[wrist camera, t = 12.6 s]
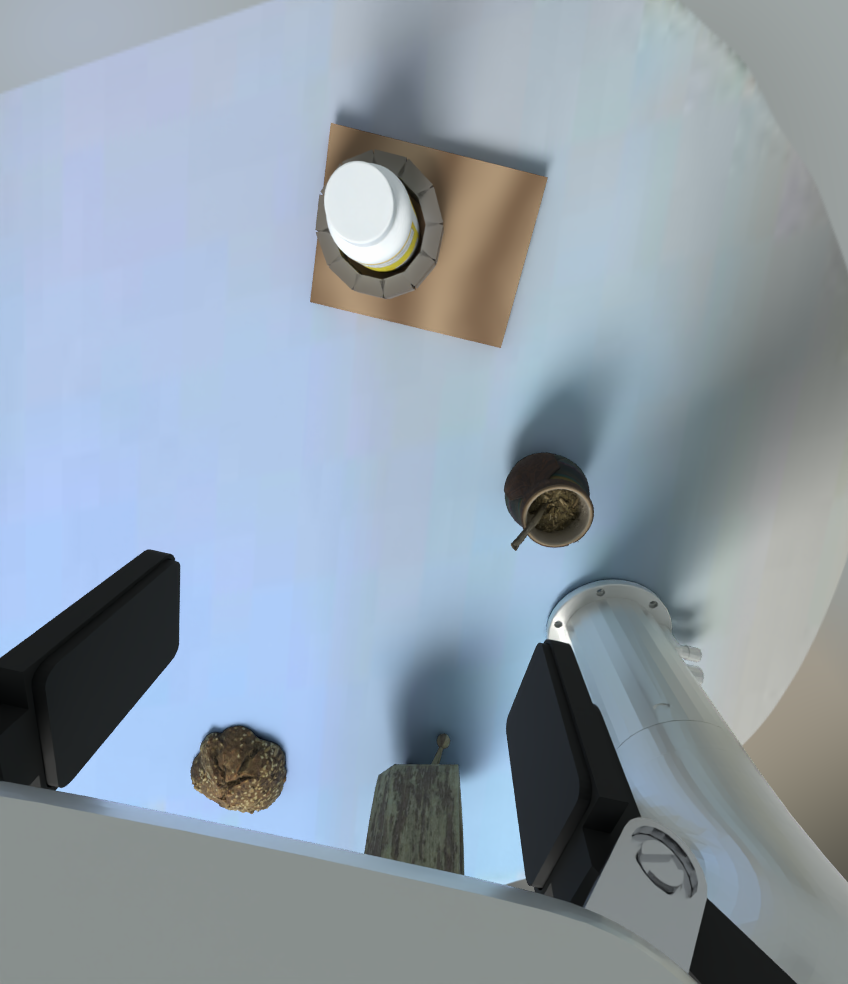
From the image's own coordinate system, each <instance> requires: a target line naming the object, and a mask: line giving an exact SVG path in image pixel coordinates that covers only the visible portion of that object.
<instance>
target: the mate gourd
mask: <svg viewBox="0 0 848 984" xmlns="http://www.w3.org/2000/svg"><path fill="white" fill-rule="evenodd" d="M505 482H506V483H505V486H504V492H505V501H506V506H507V509H508V511H509V513H510V514H511V516H512V517H513V519H514V520H515V521H516V522H517V523H518V524H519V525H520V526H522V527H523V529H524V530H523V531H522V532H521V533H520V534H519V536H518V537H517V538H516V539H515V540H514V541H513V542H512V543H511V546H512V548H513V549H514V550H515V551H516V550H517V549H518V547H519V545H520V544H521V543H522V542H523V541H524V539H525V538H526V536H527V535H528V536H529V537H530V538H531V539H532V540H533V541H534V542H536V543H538V544H540V545H542V546H546V547H564V546H568V545H569V544H571V543H572V542H573V543H574V542H577V541H578V540H580V539H581V538H582V537H583V536H584V535H585V534H586V532H587V531H588V530H589V528H590V526H591V524H592V521H593V517H594V507H593V504H592V501H591V500H590V492H589V486H588V481H587V478H586V477H585V475H584V473H583V472H582V470H581V469H580V468H579V467H578V466H577V465H576V464H575V463H573V462H572V461H570V460H569V459H567V458H565V457H562V456H560V455H556V454H551V453H547V452H546V453H536V454H532V455H529V456H527V457H525V458H523V459H522V460H520V461H519V462H518V463H517V464H516V465H515V466H514V467H513V469H512V470H511V472H510V474H509V475H508V477H507V479H506V481H505ZM578 542H579V541H578Z"/></svg>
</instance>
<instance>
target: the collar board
mask: <svg viewBox="0 0 848 984" xmlns="http://www.w3.org/2000/svg"><path fill="white" fill-rule="evenodd" d="M352 161H364V162H367V163H374V164H378V165H381V166H383V167H385V168H387V169H389V170H390V171H391V172H393V173H394V174H395V175H396V176H397V177H398V178H399V180H400V181H401V182H402V184H403V185H404V187H405V189H406V191H407V193H408V195H409V198H410V200H411V203H412V205H413V208H414V210H415V213H416V215H417V218H418V223H419V228H420V239H419V244H418V248H417V251H416V253H415V255H414V257H413V258H412V260H411V261H410V262H409V263H408V264H407V265H406V266H405V267H403V268H402V269H400V270H398V271H395V272H391V273H380V272H376V271H373V270H371V269H369V268H367V267H365V266H363V265H362V264H360V263H358V262H356V261H355V260H353V259H351V258H350V257H348V256H347V255H346V254H345V253H344V252H343V251H342V250H341V249H340V248H339V247H338V246H337V244H336V243H335V241H334V240H333V238H332V236H331V234H330V231H329V228H328V224H327V218H326V212H325V206H324V195H325V189H326V186H327V183H328V181H329V179H330V177H331V175H332V174H333V173H334V171H335V170H337V169H338V168H339V167H340V166H342V165H343V164H345V163H348V162H352ZM547 178H548V177H544V176H540V175H536V174H532V173H528V172H524V171H520V170H516V169H512V168H508V167H504V166H500V165H496V164H492V163H488V162H484V161H480V160H476V159H472V158H468V157H464V156H460V155H456V154H452V153H448V152H444V151H440V150H437V149H433V148H429V147H425V146H421V145H417V144H413V143H409V142H405V141H401V140H397V139H393V138H389V137H385V136H381V135H377V134H373V133H369V132H365V131H361V130H357V129H353V128H349V127H345V126H341V125H337V124H333V123H331V126H330V135H329V144H328V152H327V161H326V170H325V178H324V187H323V189H322V190H321V193H322V194H323V195H319V204H318V212H317V221H316V230H317V231H318V232H316V234H317V237H318V239H317V247H316V256H315V265H314V273H313V282H312V290H311V299H310V302H313V303H317V304H321V305H325V306H329V307H333V308H337V309H342V310H346V311H350V312H354V313H358V314H362V315H366V316H371V317H375V318H379V319H383V320H387V321H391V322H395V323H400V324H404V325H408V326H412V327H416V328H420V329H424V330H429V331H433V332H437V333H441V334H445V335H449V336H454V337H458V338H462V339H466V340H470V341H474V342H478V343H483V344H487V345H491V346H495V347H499V348H501V345H502V341H503V338H504V334H505V331H506V327H507V323H508V320H509V316H510V312H511V309H512V305H513V302H514V298H515V294H516V291H517V287H518V283H519V280H520V276H521V273H522V269H523V265H524V262H525V258H526V254H527V251H528V247H529V244H530V240H531V236H532V233H533V229H534V226H535V222H536V218H537V215H538V211H539V207H540V204H541V200H542V197H543V193H544V189H545V186H546V182H547Z"/></svg>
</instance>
